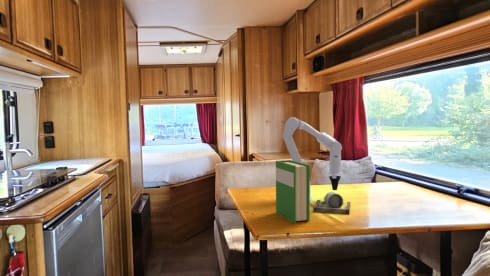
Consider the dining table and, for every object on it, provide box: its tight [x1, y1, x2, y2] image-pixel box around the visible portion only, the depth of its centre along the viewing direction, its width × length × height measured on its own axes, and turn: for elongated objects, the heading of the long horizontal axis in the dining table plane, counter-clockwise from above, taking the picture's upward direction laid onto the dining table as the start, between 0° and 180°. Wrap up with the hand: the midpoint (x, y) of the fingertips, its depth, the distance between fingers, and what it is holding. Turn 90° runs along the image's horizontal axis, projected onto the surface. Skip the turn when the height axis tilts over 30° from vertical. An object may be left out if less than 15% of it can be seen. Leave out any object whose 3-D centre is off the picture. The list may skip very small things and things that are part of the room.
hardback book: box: [275, 159, 311, 224], centre depth 159 cm, size 18×7×24 cm, turn 20°
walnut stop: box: [313, 199, 351, 215], centre depth 173 cm, size 16×15×2 cm
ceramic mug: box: [319, 191, 344, 209], centre depth 175 cm, size 11×8×8 cm
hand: (334, 190), depth 190 cm, fingers closed
